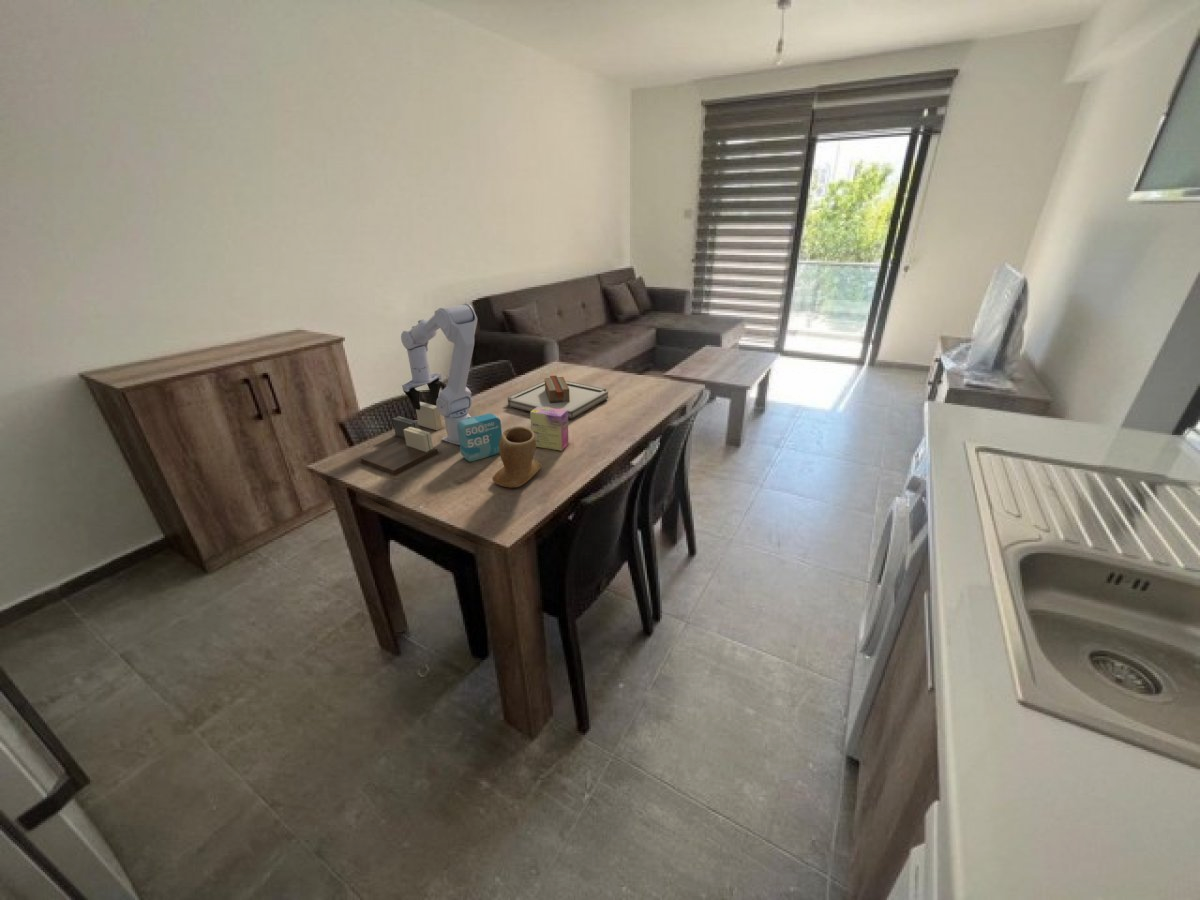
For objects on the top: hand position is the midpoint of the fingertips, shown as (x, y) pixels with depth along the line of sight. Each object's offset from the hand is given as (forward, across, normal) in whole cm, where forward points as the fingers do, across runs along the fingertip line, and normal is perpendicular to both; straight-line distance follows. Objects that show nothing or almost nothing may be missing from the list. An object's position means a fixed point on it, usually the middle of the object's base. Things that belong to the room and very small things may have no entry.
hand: (426, 405), depth 163 cm
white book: (+8, 0, 0) cm, 8 cm away
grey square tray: (+8, -42, +25) cm, 50 cm away
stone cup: (+8, +12, +50) cm, 52 cm away
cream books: (+6, +15, +13) cm, 21 cm away
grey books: (+8, +10, 0) cm, 12 cm away
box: (+8, -9, +45) cm, 47 cm away
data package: (+8, +7, +31) cm, 33 cm away
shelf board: (+8, +21, +11) cm, 25 cm away
